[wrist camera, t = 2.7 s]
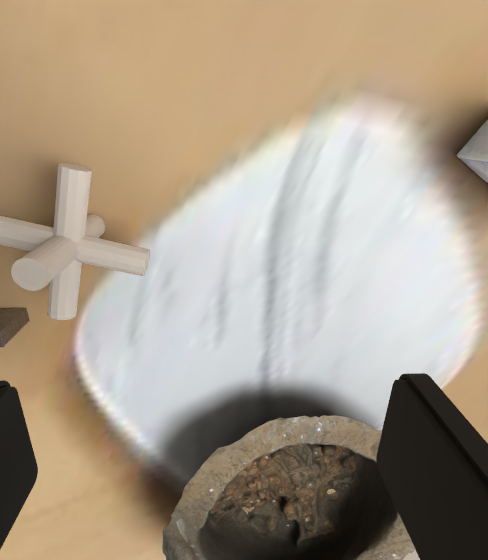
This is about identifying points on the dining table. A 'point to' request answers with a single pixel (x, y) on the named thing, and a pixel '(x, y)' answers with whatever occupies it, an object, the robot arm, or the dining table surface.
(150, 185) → the dining table surface
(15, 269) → the pipe connector
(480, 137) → the medicine box
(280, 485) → the stone bowl
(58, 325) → the dining table surface
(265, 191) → the dining table surface
